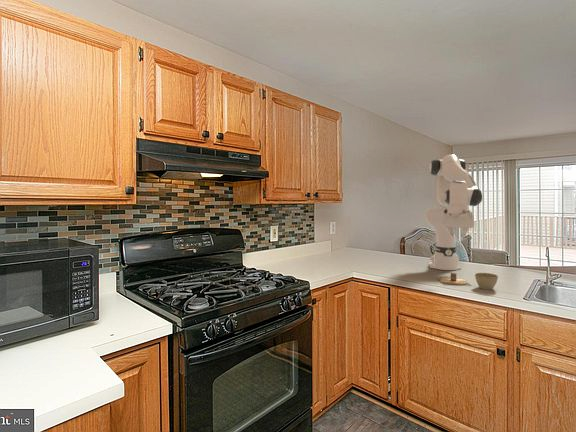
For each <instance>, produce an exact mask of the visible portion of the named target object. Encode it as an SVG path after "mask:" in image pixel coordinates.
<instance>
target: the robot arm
mask: <svg viewBox="0 0 576 432" xmlns="http://www.w3.org/2000/svg"><path fill="white" fill-rule="evenodd" d="M428 166H429V167H428V169H429V172H430V175H432V176H438V179H437V182H436V201H437V202H438V203H439V204H440V205H441V206H443V207H434V208H433V207H432V208H428V209H427V210H426V212H425V213H424V220H425V222H426V223H427V224H428V225H429V226H431V228H432V229H433V230H434V232H435V238H436V239H435V241H436V245H435V249H434V250H435V253H434V254H433V255H432V256H430V261H429V262H428V264H429V265H428V266H429V268H431V269H437V270H443V271H455V270H456V271H457V270H459V269H460V270H461V269H462V267H461V266H460V263H459V261H460V260H459V255H458V254H457V247H456V239H457V238H456V234H455V232H454V231H453V230H454V228H457V229H458V228H459V229H462V233H461V237H462V238H466V237H467V233H468V231H469V229H473V228H475V219H474V215H473V212H472V210H470V209H469V208H468V206H470V207H477V206H478V205H480V204H481V202H482V201H483V194H482V191H481V190H480V188H479V187H478V185H477V184H476V181H475V180H474V178H473V176H472V175H471V173H470V172H469V171H467V163H466V161H465V160H464V159H461V158H458V156H457V155H455V154H447V155H445V156H444V157H442V158H441V159H440V158H439V159H438V158H437V159H433V160H432V161H430V163H429V165H428Z"/></svg>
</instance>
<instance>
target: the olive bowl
mask: <svg viewBox="0 0 576 432" xmlns="http://www.w3.org/2000/svg"><path fill="white" fill-rule="evenodd" d="M474 277H475V281H476V283H477V285H478V287H479V289H481V290H487V291H491V290H493V289H494V287H495V286H496V285H497V282H498V278H499V276H498V274H494V273H491V272H490V273H489V272H477V273H476V272H475V273H474Z"/></svg>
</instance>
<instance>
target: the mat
mask: <svg viewBox="0 0 576 432" xmlns="http://www.w3.org/2000/svg"><path fill="white" fill-rule="evenodd" d="M440 279H441V278H436V280H437V281H438V282H439V283H440V284H442V285H443V286H451V285H450V284H445V283H442V282H441V281H440ZM455 286H459V287H460V286H462V287H463V286H465V287H472V286H473V285H472V284H470V283H469V282H467V284H466V285H455Z"/></svg>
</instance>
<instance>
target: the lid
mask: <svg viewBox="0 0 576 432" xmlns="http://www.w3.org/2000/svg"><path fill="white" fill-rule="evenodd" d="M439 279H440V281H441V282H442V283H445V284H450V285H449V286H456V285H466V284H467V283H468V281H467V280H465V279H463V278H457V273H456V272H450V277H440V278H439ZM441 282H440V283H441ZM442 283H441V284H442Z"/></svg>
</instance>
